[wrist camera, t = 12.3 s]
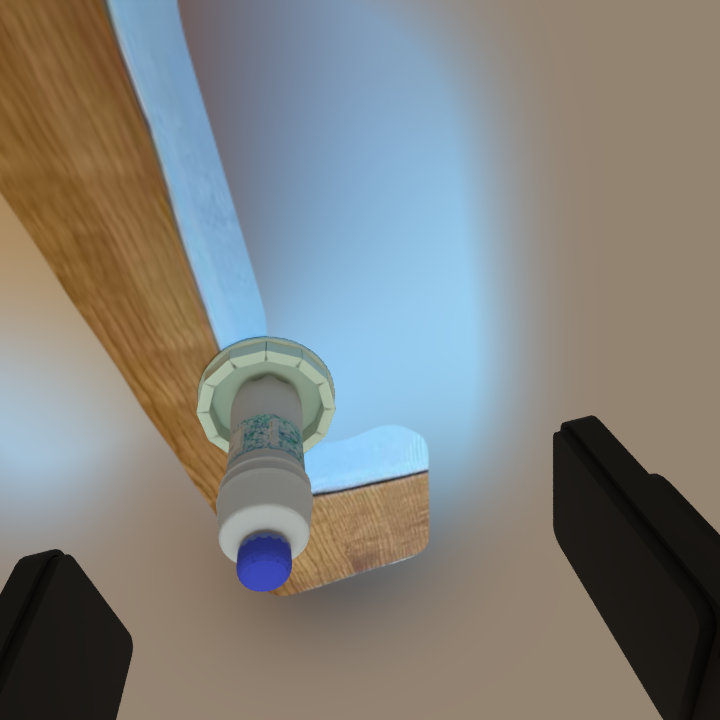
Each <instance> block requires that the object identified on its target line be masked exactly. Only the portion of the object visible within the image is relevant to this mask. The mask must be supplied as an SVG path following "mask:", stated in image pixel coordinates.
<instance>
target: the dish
mask: <svg viewBox="0 0 720 720" xmlns="http://www.w3.org/2000/svg"><path fill="white" fill-rule="evenodd" d="M266 375H272V376H274V377H275V378H276V379H277V380H279V381H281V382H283V383H286V382H288V383H290V384H291V385H292V386H293V387H294V388H295V390H296V392H297V394H298V396H299V399H300V401H301V405H302V414H303V424H302V440H303V453H305V452H307V451H308V450H309V449H310V448H312V447H313V446H314V445H315V444H317V443H318V442H319V441H320V440H322V439H323V438H324V437H325V436H326V434H327V431H328V428H329V426H330V423H331V420H332V418H333V415H334V412H335V409H336V408H335V402H334V401H335V391H334V385H333V380H332V377H331V374H330V372H329V370H328V369H327V366H326V365H325V364H324V362H323V361H322V360H321V359H320V358H319V357H318V356H317V355H316V354H315V353H313V352H312V351H311V350H310V349H308V348H306V347H305V346H303V345H301V344H299V343H297V342H294V341H291V340H288V339H283V338H277V337H256V338H250V339H246V340H243V341H239V342H237V343H235V344H232V345H230V346H229V347H227V348H225V349H224V350H222V351H221V352H220V353H218V354H217V355H216V356H215V357H214V358H213V359H212V360H211V361H210V363H209V364H208V366H207V367H206V368H205V370H204V373H203V375H202V377H201V381H200V384H199V389H198V408H197V415H198V417H199V419H200V422H201V424H202V426H203V428H204V431H205V433H206V435H207V437H208V439H210V440H209V441H211V442H212V443H214V444H215V445H217V446H218V447H220V448H221V449H222V450H224V451H225V452H227V453H228V451H229V442H230V415H231V406H232V402H233V400H234V398H235V396H236V395H237V393H238V392H239V390H240V389H241V387H242V385H243V384H244V383H245V382H247V381H248V380H253V381H257V380H260V379H262V378H264V377H265V376H266Z"/></svg>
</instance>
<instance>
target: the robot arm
mask: <svg viewBox="0 0 720 720" xmlns="http://www.w3.org/2000/svg"><path fill="white" fill-rule="evenodd" d="M553 527H554V533H555V536H556V539H557V541H558V543H559V545H560V547H561V549H562V550H563V552H564V554H565V556H566V557H567V559H568V561H569V562H570V564H571V566H572V567H573V569H574V571H575V572H576V574H577V576H578V577H579V579H580V581H581V582H582V584H583V586H584V587H585V589H586V591H587V593H588V594H589V596H590V598H591V599H592V601H593V603H594V604H595V606H596V608H597V609H598V611H599V613H600V614H601V616H602V618H603V619H604V621H605V623H606V624H607V626H608V628H609V630H610V631H611V633H612V635H613V636H614V638H615V640H616V641H617V643H618V645H619V646H620V648H621V650H622V651H623V653H624V655H625V657H626V658H627V660H628V661H629V663H630V665H631V667H632V668H633V670H634V672H635V673H636V675H637V677H638V678H639V680H640V682H641V684H642V685H643V687H644V689H645V690H646V692H647V694H648V695H649V697H650V699H651V700H652V702H653V703H654V705H655V707H656V709H657V710H658V712H659V714H660V715H661V717H662V718H663V720H720V535H719V534H718V532H717V531H716V530H715V529H714V528H713V527H712V526H711V525H710V524H709V523H708V522H707V521H706V520H705V519H704V518H703V517H702V516H701V515H700V514H699V513H698V512H697V510H696V509H695V508H694V507H693V506H692V505H691V504H690V503H689V502H688V501H687V500H686V499H685V498H684V497H683V496H682V495H681V494H680V493H679V492H678V490H677V489H676V488H675V487H674V486H673V485H672V484H671V483H670V482H669V481H667V480H666V479H665V478H664V477H663V476H661V475H658V474H649V473H648V472H647V471H646V470H645V469H644V468H643V467H642V466H641V465H640V464H639V463H638V462H637V461H636V459H635V458H634V457H633V456H632V455H631V454H630V453H629V452H628V451H627V449H626V448H625V447H624V446H623V445H622V444H621V443H620V442H619V441H618V440H617V439H616V438H615V436H614V435H612V433H611V432H610V431H609V430H608V429H607V428H606V427H605V426H604V424H603V423H602V422H601V421H600V420H598V418H596V417H595V416H592V415H591V416H587V417H584V418H579V419H575V420H571V421H567V422H564V423H562V425H561V430H560V431H559V432H555V433H554V435H553ZM132 652H133V643H132V638H131V635H130V633H129V632H128V631H127V629H126V628H125V627H124V625H123V624H122V623H121V621H120V620H119V618H118V617H117V616H116V614H115V613H114V612H113V610H112V609H111V608H110V606H109V605H108V604H107V602H106V601H105V600H104V598H103V597H102V596H101V594H100V593H99V591H98V590H97V589H96V587H95V586H94V585H93V583H92V582H91V581H90V579H89V578H88V577H87V575H86V574H85V573H84V571H83V570H82V568H81V567H80V566H79V564H78V563H77V562H76V560H75V559H74V558H73V557H72V556H71V555H69V554H68V555H65V554H64V553H63V552H62V551H61V550H58V549H54V550H49V551H45V552H42V553H37V554H33V555H29V556H25V557H23V558H22V559H20V560H19V561H18V563H17V564H16V565H15V567H14V569H13V571H12V573H11V575H10V577H9V579H8V581H7V583H6V585H5V586H4V588H3V590H2V592H1V594H0V720H116V718H117V713H118V709H119V705H120V701H121V697H122V693H123V689H124V685H125V681H126V677H127V673H128V669H129V665H130V661H131V657H132Z"/></svg>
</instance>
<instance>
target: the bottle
mask: <svg viewBox="0 0 720 720" xmlns="http://www.w3.org/2000/svg"><path fill="white" fill-rule="evenodd" d="M302 424H303V414H302V405H301V401H300V399H299V396H298V394H297V392H296V390H295V388H294V387H293V386H292V385H291V384H290V383H288V382H286V383H283V382H281V381H279V380H277V379H276V378H275V377H274V376H272V375H266V376H265V377H264V378H262V379H260V380H257V381H253V380H248V381H247V382H245V383H244V384H243V385H242V387H241V389H240V390H239V392H238V393H237V395H236V396H235V398H234V400H233V402H232V406H231V415H230V442H229V451H228V460H227V468H226V474H225V476H224V477H223V479H222V481H221V483H220V487H219V494H218V497H217V501H216V508H217V517H218V536H219V543H220V546H221V549H222V550H223V552H224V553H225V555H226V556H227V557H229V558H230V559H231V560H233V561H234V562H236V563H237V575H238V577H239V580H240V581H241V583H242V584H243V585H244V586H245V587H247V588H249V589H251V590H254V591H261V592H262V591H270V590H274V589H276V588H278V587H280V586H281V585H282V584H283V583H284V582H285V581H286V580H287V579H288V577H289V575H290V573H291V569H292V560H293V559H294V558H296V557H297V556H298V555H299V554H300V553H301V552H302V551H303V550H304V548H305V547H306V545H307V543H308V540H309V536H310V525H311V514H312V507H313V496H312V492H311V484H310V480H309V478H308V476H307V474H306V473H305V465H304V453H303V440H302Z"/></svg>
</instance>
